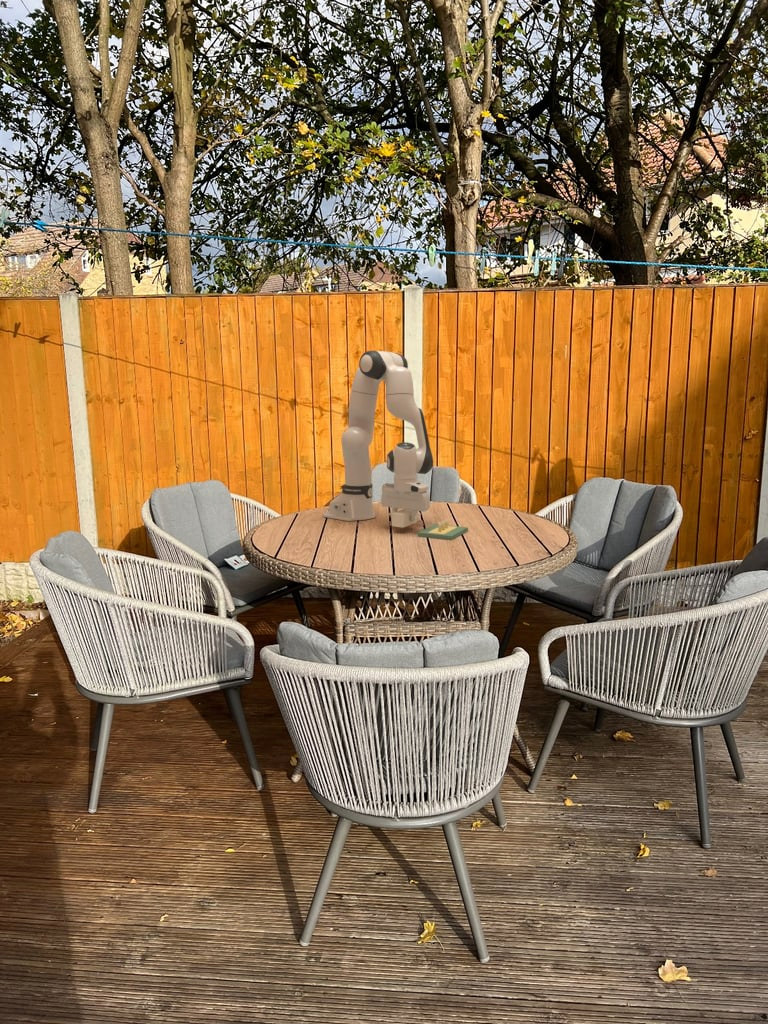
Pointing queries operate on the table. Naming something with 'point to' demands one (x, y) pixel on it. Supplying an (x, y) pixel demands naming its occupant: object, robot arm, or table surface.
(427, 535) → the header board
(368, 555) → the table surface
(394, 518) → the housing
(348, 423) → the robot arm
